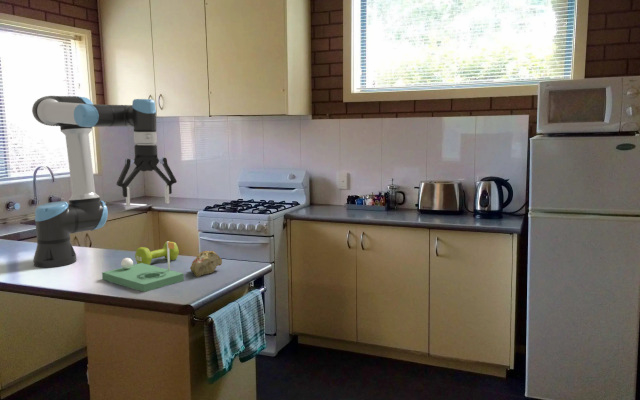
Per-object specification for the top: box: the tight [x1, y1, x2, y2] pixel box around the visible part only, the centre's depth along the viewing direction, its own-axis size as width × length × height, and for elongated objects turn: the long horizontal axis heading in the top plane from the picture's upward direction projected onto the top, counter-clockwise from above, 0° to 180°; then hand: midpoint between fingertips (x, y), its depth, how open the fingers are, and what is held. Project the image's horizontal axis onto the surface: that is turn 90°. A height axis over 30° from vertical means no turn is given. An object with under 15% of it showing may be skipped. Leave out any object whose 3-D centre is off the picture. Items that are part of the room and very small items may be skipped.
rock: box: [189, 250, 223, 278], centre depth 199 cm, size 12×9×10 cm
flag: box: [166, 240, 174, 271], centre depth 191 cm, size 4×1×13 cm, turn 53°
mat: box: [101, 263, 185, 293], centre depth 189 cm, size 24×16×2 cm, turn 53°
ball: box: [120, 257, 134, 269], centre depth 194 cm, size 4×4×4 cm
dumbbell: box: [134, 241, 180, 265], centre depth 213 cm, size 16×8×7 cm, turn 141°
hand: (148, 204), depth 192 cm, fingers open, 13 cm apart
